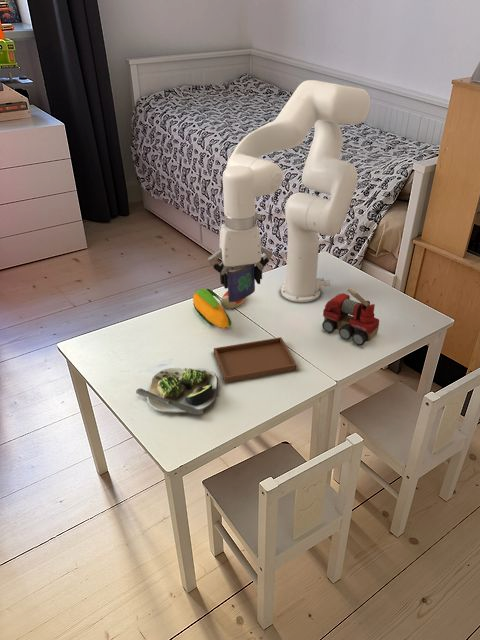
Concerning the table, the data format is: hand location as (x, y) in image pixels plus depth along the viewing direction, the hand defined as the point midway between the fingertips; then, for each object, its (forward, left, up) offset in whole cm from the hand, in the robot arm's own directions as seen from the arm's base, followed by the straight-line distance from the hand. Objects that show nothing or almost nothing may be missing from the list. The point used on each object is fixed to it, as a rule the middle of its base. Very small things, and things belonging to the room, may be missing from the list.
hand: (241, 283), depth 142 cm
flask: (0, 0, -4) cm, 4 cm away
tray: (0, +13, -17) cm, 21 cm away
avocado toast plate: (+20, +21, -17) cm, 33 cm away
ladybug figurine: (-2, -18, -17) cm, 25 cm away
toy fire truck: (-29, +8, -17) cm, 34 cm away
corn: (+6, -10, -17) cm, 21 cm away
